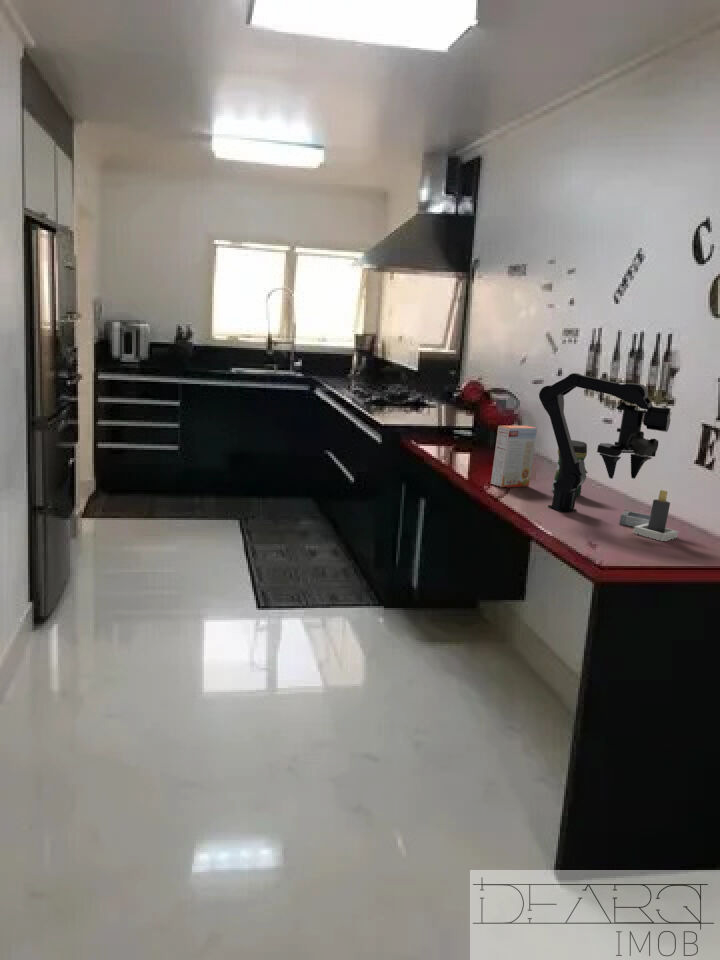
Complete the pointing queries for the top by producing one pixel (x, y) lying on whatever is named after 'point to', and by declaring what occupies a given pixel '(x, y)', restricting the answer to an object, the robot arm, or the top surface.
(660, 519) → the plug
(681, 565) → the top surface
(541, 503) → the top surface
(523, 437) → the cracker box
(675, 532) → the socket
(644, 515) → the grey tray
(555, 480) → the coffee jar
